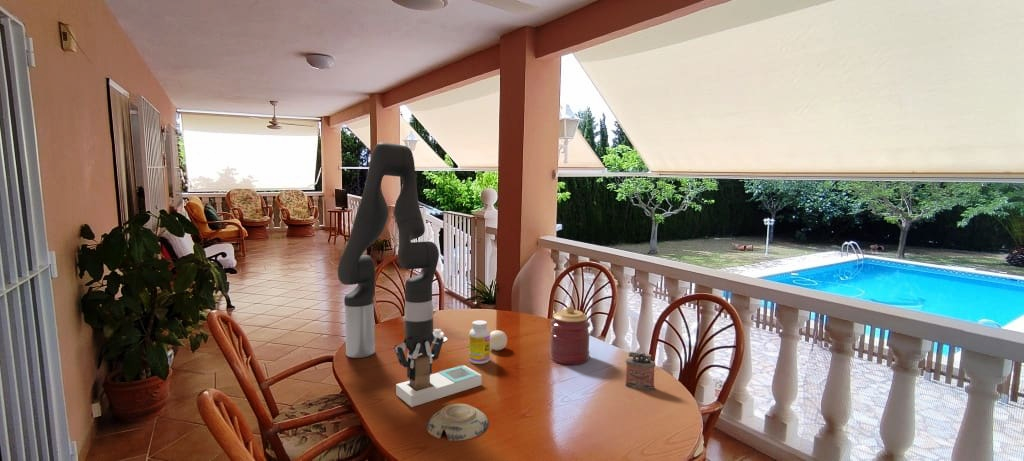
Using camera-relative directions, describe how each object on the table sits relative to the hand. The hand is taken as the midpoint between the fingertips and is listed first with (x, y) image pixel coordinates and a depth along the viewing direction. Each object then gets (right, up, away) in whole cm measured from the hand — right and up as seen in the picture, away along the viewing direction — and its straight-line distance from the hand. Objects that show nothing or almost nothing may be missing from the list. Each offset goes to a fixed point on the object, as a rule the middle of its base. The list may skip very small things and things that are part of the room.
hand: (419, 377), depth 129 cm
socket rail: (+5, -5, +4) cm, 8 cm away
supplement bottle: (+15, -3, +26) cm, 30 cm away
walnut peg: (0, -4, 0) cm, 4 cm away
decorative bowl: (+12, -7, -14) cm, 20 cm away
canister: (+44, -3, +29) cm, 53 cm away
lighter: (+61, -5, +7) cm, 62 cm away
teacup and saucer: (0, -1, +47) cm, 47 cm away
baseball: (+20, -2, +36) cm, 42 cm away
